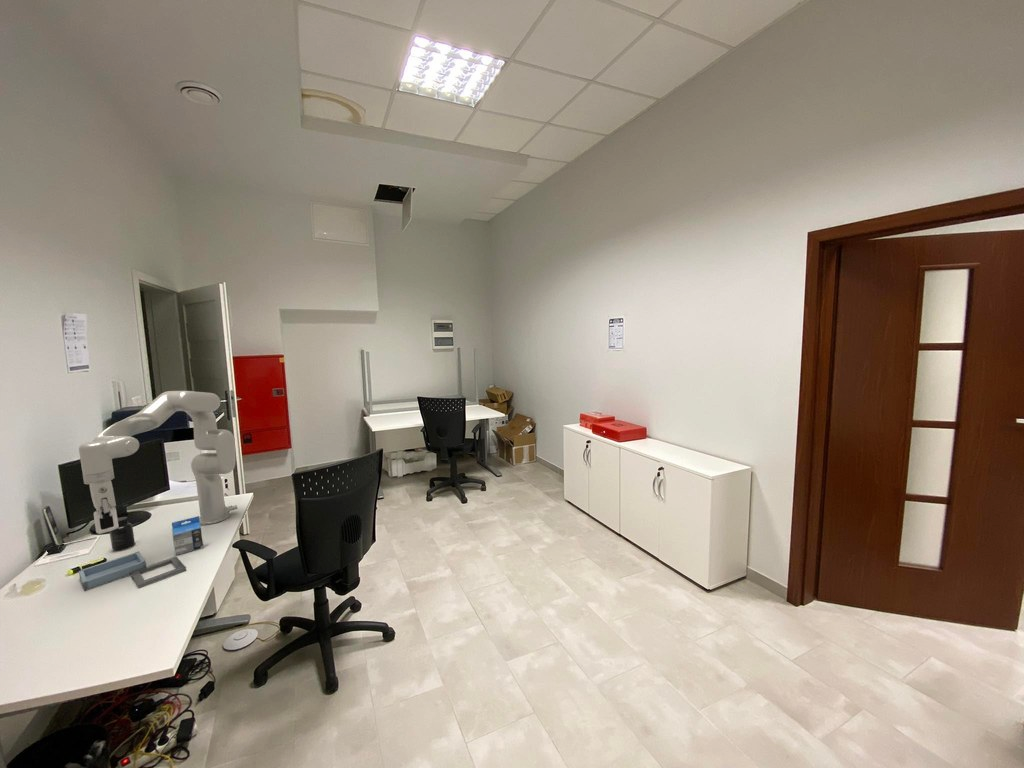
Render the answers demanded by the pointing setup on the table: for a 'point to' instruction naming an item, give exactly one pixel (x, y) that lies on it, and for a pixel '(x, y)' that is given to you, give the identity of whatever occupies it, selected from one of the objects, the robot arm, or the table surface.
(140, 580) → the gray square frame
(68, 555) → the photo frame
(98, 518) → the eye dropper bottle
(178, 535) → the label tape box
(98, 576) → the tray
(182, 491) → the table surface
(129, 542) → the supplement bottle
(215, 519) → the robot arm
